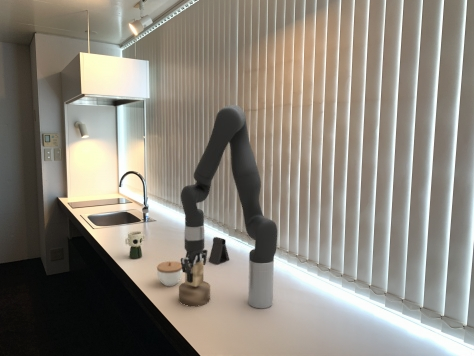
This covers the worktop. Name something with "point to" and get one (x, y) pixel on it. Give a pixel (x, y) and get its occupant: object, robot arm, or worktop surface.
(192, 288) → the walnut plinth
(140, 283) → the worktop surface
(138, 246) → the character mug
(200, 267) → the oak block
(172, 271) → the lidded jar
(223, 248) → the phone stand
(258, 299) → the robot arm
